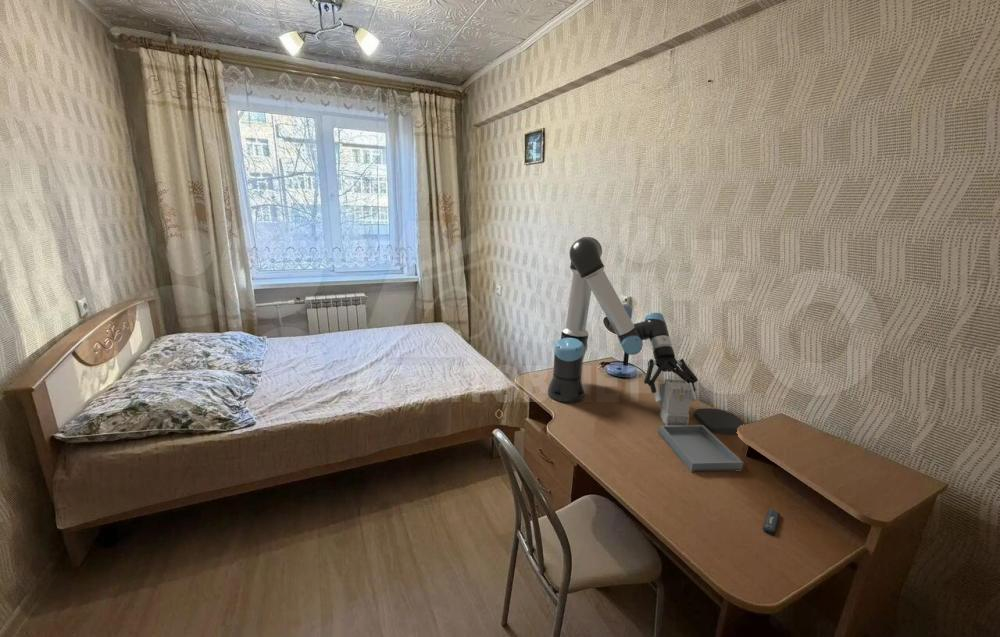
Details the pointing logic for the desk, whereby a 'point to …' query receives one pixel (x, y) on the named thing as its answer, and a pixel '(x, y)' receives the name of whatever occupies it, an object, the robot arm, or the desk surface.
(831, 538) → the desk surface
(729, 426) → the media streaming box
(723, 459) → the tray
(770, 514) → the usb stick
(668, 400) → the circuit breaker
